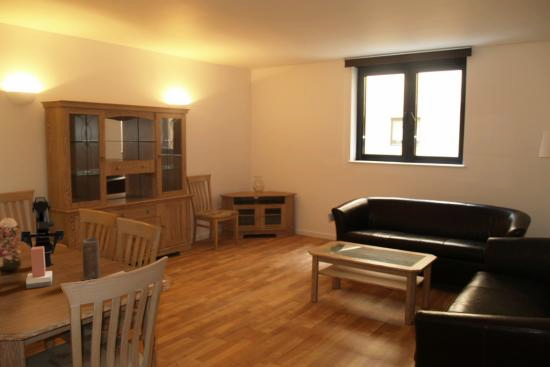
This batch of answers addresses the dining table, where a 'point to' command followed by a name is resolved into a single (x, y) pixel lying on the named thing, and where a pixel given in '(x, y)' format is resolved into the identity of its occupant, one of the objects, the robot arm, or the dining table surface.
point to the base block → (39, 280)
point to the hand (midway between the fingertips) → (43, 250)
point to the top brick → (38, 261)
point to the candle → (91, 258)
